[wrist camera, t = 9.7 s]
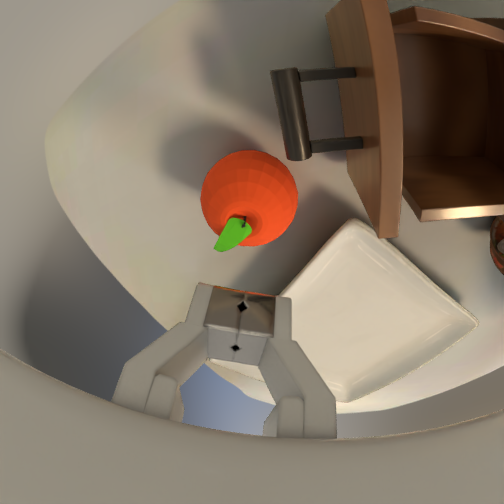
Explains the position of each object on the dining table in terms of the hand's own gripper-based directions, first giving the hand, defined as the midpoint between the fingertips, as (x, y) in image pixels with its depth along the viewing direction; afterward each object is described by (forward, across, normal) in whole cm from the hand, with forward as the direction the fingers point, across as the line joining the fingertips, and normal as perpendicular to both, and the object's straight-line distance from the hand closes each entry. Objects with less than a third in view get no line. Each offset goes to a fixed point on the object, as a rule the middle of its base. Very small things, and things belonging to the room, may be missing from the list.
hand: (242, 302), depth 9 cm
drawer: (+14, -9, -7) cm, 18 cm away
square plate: (+15, -14, +20) cm, 29 cm away
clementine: (+15, +1, +3) cm, 16 cm away
